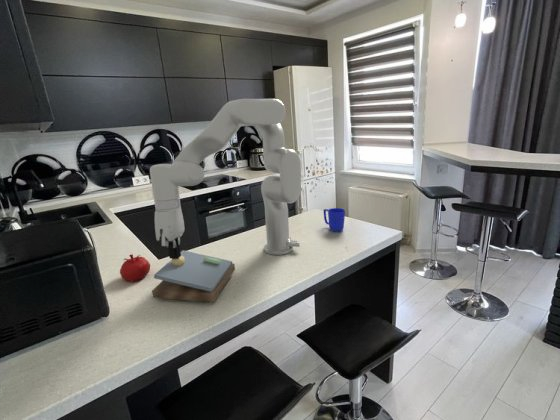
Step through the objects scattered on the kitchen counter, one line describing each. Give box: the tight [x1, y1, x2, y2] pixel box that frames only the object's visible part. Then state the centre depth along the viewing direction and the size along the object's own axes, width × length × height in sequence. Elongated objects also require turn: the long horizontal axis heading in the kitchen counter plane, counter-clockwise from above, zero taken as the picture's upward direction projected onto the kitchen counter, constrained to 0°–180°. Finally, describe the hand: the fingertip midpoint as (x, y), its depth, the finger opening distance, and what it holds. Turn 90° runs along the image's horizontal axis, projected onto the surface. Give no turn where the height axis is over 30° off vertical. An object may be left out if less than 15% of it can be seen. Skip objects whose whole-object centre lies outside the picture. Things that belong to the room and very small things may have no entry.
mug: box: [323, 207, 346, 232], centre depth 144 cm, size 8×12×10 cm
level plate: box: [153, 250, 233, 292], centre depth 97 cm, size 19×18×3 cm
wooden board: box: [151, 262, 236, 303], centre depth 98 cm, size 20×20×4 cm
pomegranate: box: [119, 253, 151, 283], centre depth 106 cm, size 10×10×9 cm
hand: (175, 257), depth 97 cm, fingers closed
